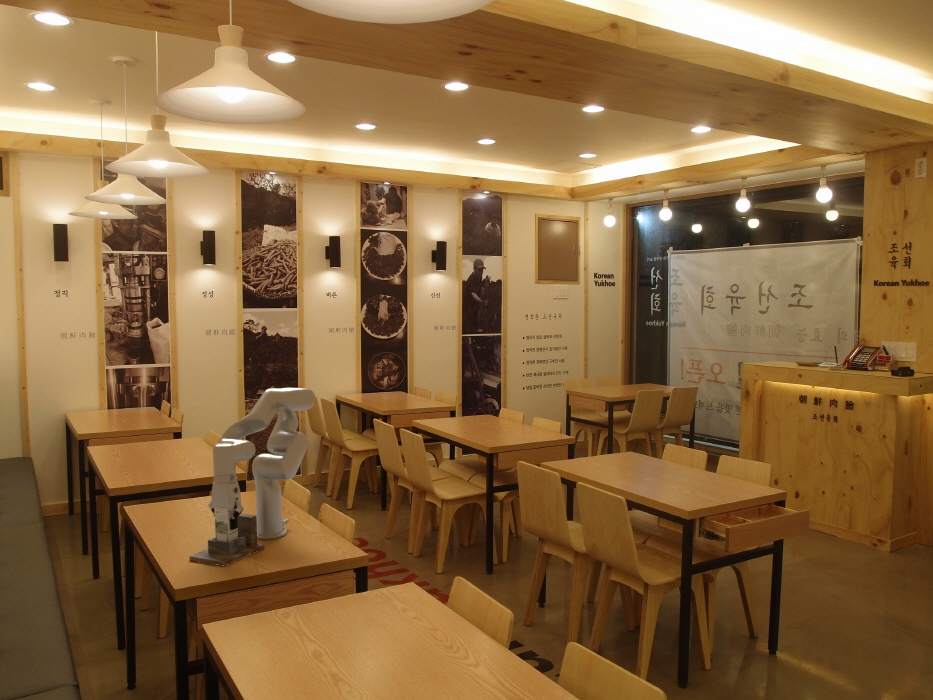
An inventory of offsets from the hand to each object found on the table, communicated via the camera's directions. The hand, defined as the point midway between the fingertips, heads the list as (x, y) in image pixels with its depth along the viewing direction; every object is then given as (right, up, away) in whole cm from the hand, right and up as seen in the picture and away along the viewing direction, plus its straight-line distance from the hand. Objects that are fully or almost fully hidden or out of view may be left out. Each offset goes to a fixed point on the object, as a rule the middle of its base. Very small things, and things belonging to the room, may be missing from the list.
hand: (226, 527), depth 262 cm
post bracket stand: (0, -10, +1) cm, 10 cm away
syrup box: (0, -7, 0) cm, 7 cm away
